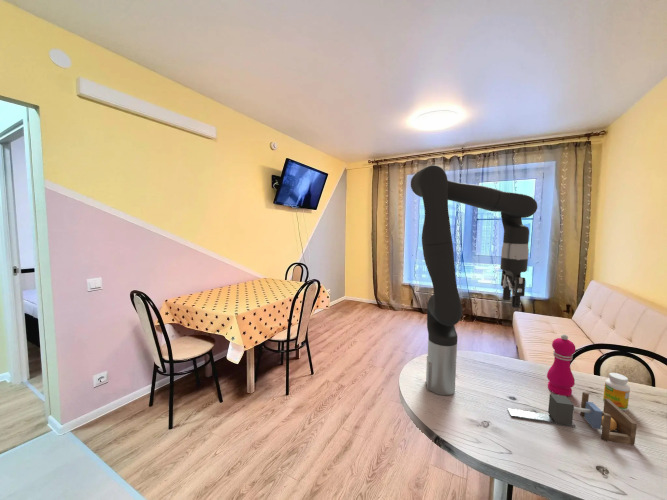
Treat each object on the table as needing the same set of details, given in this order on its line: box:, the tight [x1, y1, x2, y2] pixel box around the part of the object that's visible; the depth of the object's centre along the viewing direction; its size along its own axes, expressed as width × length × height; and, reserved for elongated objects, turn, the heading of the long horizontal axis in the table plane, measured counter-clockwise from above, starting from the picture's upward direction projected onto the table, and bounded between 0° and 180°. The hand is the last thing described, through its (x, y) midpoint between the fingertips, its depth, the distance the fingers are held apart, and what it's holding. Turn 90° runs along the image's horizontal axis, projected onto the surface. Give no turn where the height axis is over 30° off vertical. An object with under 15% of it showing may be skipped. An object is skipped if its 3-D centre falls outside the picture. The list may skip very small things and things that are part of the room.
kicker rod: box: [547, 393, 603, 430], centre depth 77 cm, size 11×4×6 cm, turn 75°
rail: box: [507, 408, 577, 428], centre depth 80 cm, size 16×3×1 cm, turn 75°
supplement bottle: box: [602, 372, 631, 411], centre depth 85 cm, size 5×5×10 cm
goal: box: [579, 391, 638, 446], centre depth 75 cm, size 7×10×7 cm, turn 165°
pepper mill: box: [546, 334, 577, 398], centre depth 91 cm, size 7×7×20 cm
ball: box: [601, 416, 617, 432], centre depth 75 cm, size 4×4×4 cm
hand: (510, 303), depth 93 cm, fingers open, 8 cm apart
